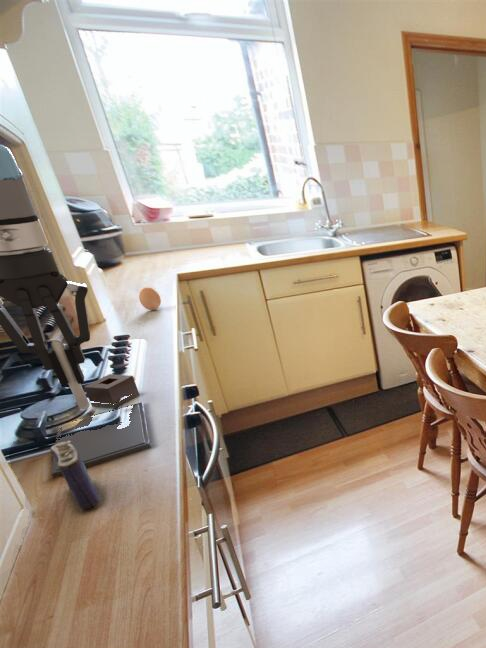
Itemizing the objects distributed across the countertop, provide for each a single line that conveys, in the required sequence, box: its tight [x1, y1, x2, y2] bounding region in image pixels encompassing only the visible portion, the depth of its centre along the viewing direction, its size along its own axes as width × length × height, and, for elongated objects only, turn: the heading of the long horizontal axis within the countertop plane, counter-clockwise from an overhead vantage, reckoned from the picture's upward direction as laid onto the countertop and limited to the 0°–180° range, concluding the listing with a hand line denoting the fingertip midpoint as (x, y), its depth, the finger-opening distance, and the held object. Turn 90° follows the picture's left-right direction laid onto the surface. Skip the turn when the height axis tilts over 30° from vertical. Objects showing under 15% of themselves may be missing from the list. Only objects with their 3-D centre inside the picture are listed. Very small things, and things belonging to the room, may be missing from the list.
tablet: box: [50, 401, 152, 479], centre depth 92 cm, size 20×14×1 cm
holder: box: [83, 373, 140, 409], centre depth 105 cm, size 6×6×5 cm
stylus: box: [50, 339, 90, 410], centre depth 82 cm, size 2×2×14 cm
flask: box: [50, 440, 101, 512], centre depth 75 cm, size 9×3×11 cm, turn 50°
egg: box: [138, 286, 162, 311], centre depth 161 cm, size 6×6×8 cm
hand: (73, 382), depth 82 cm, fingers closed on stylus, 1 cm apart
